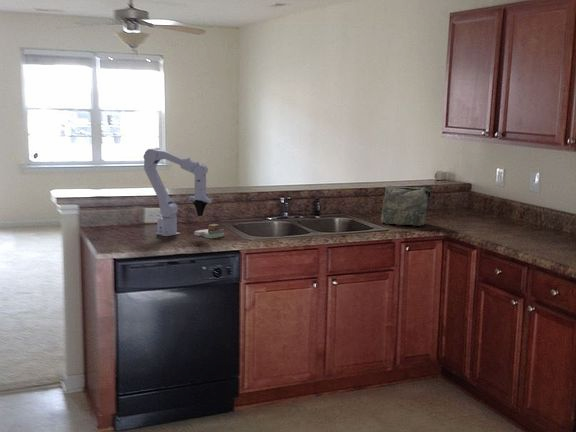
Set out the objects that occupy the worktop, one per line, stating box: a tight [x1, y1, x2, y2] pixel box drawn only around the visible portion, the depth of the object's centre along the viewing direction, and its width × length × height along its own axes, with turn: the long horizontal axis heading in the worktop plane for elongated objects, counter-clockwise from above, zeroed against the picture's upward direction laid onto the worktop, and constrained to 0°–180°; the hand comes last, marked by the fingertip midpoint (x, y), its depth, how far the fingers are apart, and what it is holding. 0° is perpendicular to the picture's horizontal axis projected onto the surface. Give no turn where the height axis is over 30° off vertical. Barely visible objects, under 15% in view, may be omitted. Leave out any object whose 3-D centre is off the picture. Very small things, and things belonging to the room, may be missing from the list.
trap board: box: [194, 228, 225, 240], centre depth 336 cm, size 9×12×4 cm
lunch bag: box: [380, 185, 431, 227], centre depth 384 cm, size 26×18×22 cm
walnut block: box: [207, 223, 221, 233], centre depth 333 cm, size 4×4×4 cm
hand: (200, 215), depth 333 cm, fingers closed
